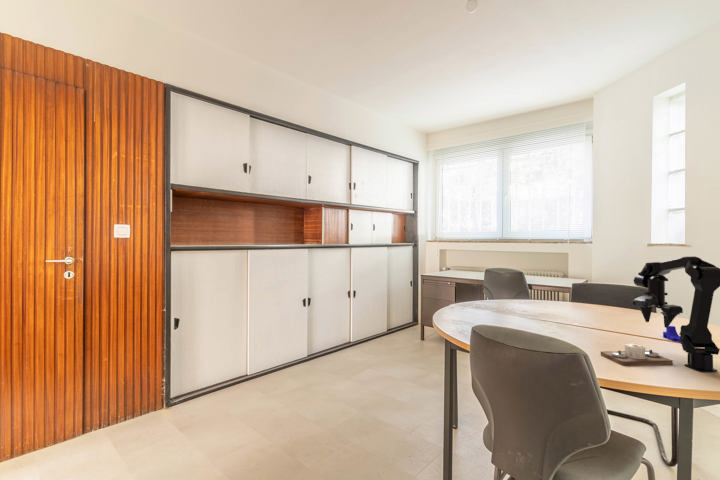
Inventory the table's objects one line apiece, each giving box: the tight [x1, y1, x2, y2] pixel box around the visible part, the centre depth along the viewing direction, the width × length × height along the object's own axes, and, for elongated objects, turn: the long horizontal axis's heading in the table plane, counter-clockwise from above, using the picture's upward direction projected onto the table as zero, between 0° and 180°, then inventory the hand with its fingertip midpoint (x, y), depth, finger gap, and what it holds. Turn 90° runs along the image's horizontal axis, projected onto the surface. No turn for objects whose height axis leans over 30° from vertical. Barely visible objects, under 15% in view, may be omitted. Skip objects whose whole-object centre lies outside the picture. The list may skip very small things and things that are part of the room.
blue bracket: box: [662, 325, 681, 344], centre depth 161 cm, size 12×4×6 cm, turn 171°
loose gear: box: [624, 343, 646, 358], centre depth 138 cm, size 6×6×4 cm
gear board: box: [600, 349, 674, 366], centre depth 138 cm, size 12×20×2 cm, turn 91°
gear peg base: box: [611, 349, 660, 358], centre depth 138 cm, size 5×18×2 cm, turn 91°
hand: (656, 324), depth 150 cm, fingers open, 9 cm apart
